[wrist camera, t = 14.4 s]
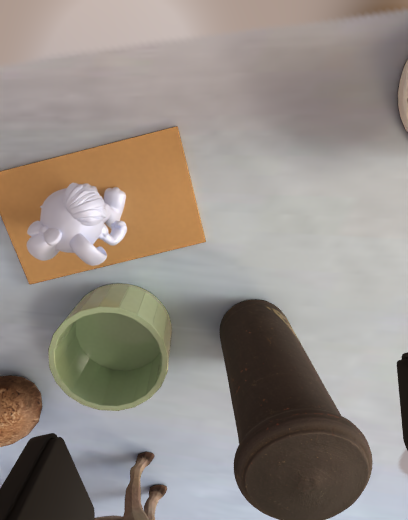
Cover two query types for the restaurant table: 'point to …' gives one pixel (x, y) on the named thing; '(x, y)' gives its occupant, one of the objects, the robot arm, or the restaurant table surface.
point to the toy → (139, 494)
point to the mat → (102, 177)
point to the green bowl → (112, 348)
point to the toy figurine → (78, 223)
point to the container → (287, 422)
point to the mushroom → (18, 408)
